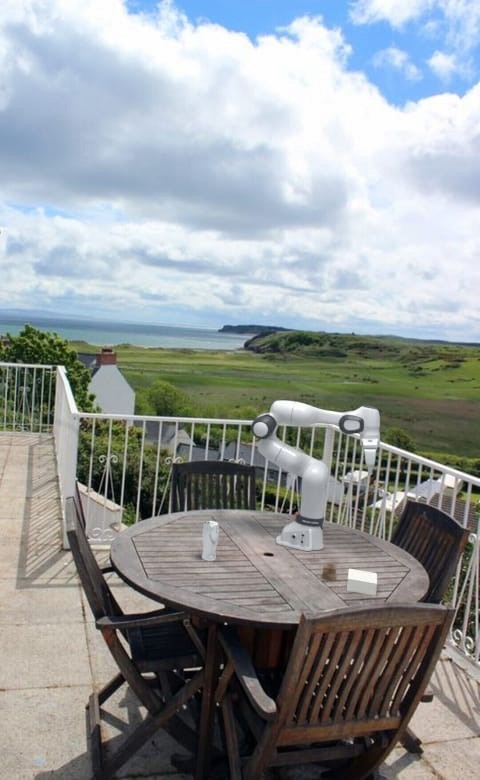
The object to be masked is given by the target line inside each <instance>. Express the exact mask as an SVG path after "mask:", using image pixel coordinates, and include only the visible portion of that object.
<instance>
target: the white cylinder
mask: <svg viewBox="0 0 480 780" xmlns="http://www.w3.org/2000/svg"><path fill="white" fill-rule="evenodd" d="M201 533H202V535H201V536H202V553H201V560H203V561H207V562H212V561H215V560H216V558H217V556H216V555H217V553H216V549H217V545H218V541H219V538H220V522H218V521H214V520H206V521H203V527H202V532H201Z"/></svg>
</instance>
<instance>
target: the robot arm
mask: <svg viewBox="0 0 480 780" xmlns="http://www.w3.org/2000/svg"><path fill="white" fill-rule="evenodd" d="M380 421H381V417H380V412H379V409H378V408H377V407H375V406H372V405H367V404H366V405H361V406H360V407H358V408H357V409H355V410H353V409H352V410H347V411H336V410H335V411H333V410H328V409H321V408H319V407H315V406H313V405H310V404H306V403H303V402H300V401H294V400H285V399H284V400H283V399H282V400H275V401H273V403H272V404H271V406H270V410H269V411H267V412H264V413H261V414H259V415H258V416H257V417H256V418H254V420H253V421H252V423H251V425H250V431H251V433H252V435H253V437H255V438H256V439H258V440H259V441H258V444H257V451H258V453H260V455H262V456H263V457H264V458H265V459H266V460H268V461H269V462H271V463H272V464H273V465H276V466H277V467H279V468H281V469H282V470H284V471H286V472H288V473H290V474H293V475H295V476H298V477H301V478H302V479H301V498H300V499H301V500H300V510H299V511H296V512H295V514H294V515H295V517H294V521H292V522H290V523H288V524H286V525H285V526H284V527H283V529H282V530H281V534H279V535H277V536H276V539H275V543H276V544H277V545H278V546H283V547H287V548H291V549H296V550H299V551H303V552H311V551H317V550H318V551H319V550H323V549H324V548H325V546H324V545H325V544H324V537H323V536H324V535H323V534H324V533H323V532H324V531H323V529H324V526H325V517H324V516H325V515H324V514H325V507H326V506H325V505H326V489H327V480H328V477H329V474H330V471H329V468H328V466H327V465H326V463H324V461H321V460H318V459H317V458H315V457H313V456H311V455H309V454H306V453H303V452H301V450H300V451H299V450H298V449H296V448H294V447H292V446H291V445H289V444H288V443H286V442H284V441H282V440H280V439H279V438H278V437H277V436H278V433H279V428H280V425H281V424H282V425H283V424H286V425H291V426H296V427H297V426H298V427H308V426H311V425H315V424H326V425H333V426H338V428H339V430H340V431H341V432H342V433H343V434H346V435H354V434H359V446H361V448H362V449H363V452H364V460H365V461H364V462H365V465H366V466H367V475H373V470H374V469H373V468H374V467H375V464H376V457H377V456H376V455H377V450H378V447H380V446H381V435H380V434H381V433H380V428H381V427H380V426H381V422H380Z"/></svg>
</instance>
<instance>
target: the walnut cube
mask: <svg viewBox="0 0 480 780" xmlns="http://www.w3.org/2000/svg"><path fill="white" fill-rule="evenodd" d="M336 572H337V564H334V563H329V562H328V563H327V562H324V563H323V566H322V576H321V579H322V580H324V581H325V580H326V581H329V582H330V581H331V582H335V581H336V575H337V574H336Z"/></svg>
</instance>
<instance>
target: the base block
mask: <svg viewBox="0 0 480 780" xmlns="http://www.w3.org/2000/svg"><path fill="white" fill-rule="evenodd" d="M346 584H347V585H346V591H348V592H353V593H359V594H363V595H368V596H377V588H378V573H376V572H371V571H365V570H360V569H356V568H355V569H353V568H348V575H347V583H346Z"/></svg>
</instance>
